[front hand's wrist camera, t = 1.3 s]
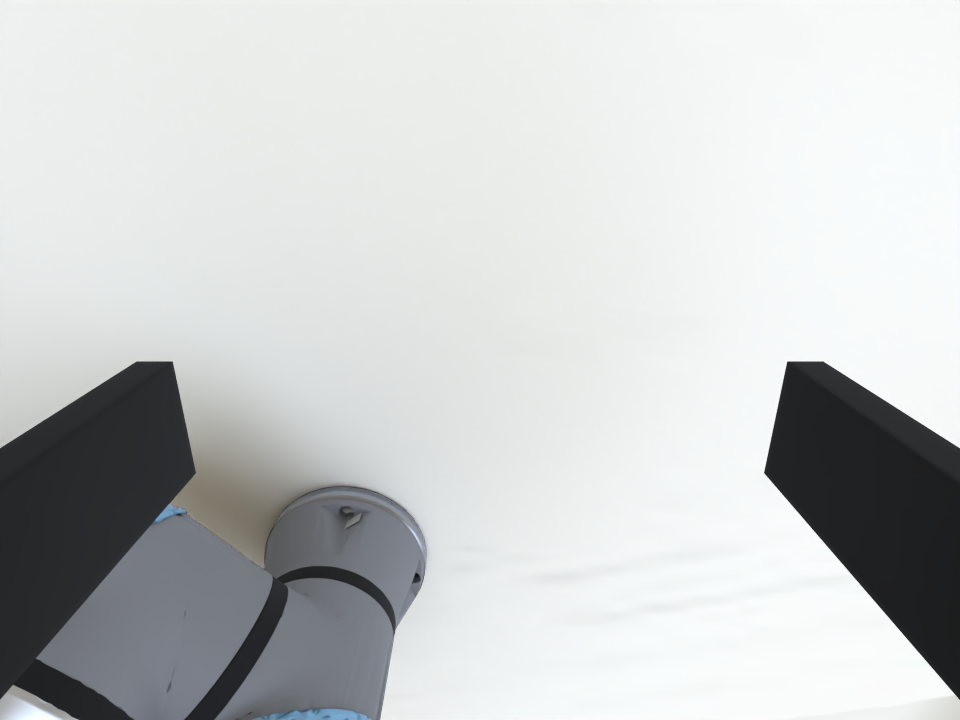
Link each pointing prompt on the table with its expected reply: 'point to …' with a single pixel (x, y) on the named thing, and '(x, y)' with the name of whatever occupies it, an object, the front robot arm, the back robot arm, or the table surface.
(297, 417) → the table surface
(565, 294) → the table surface
